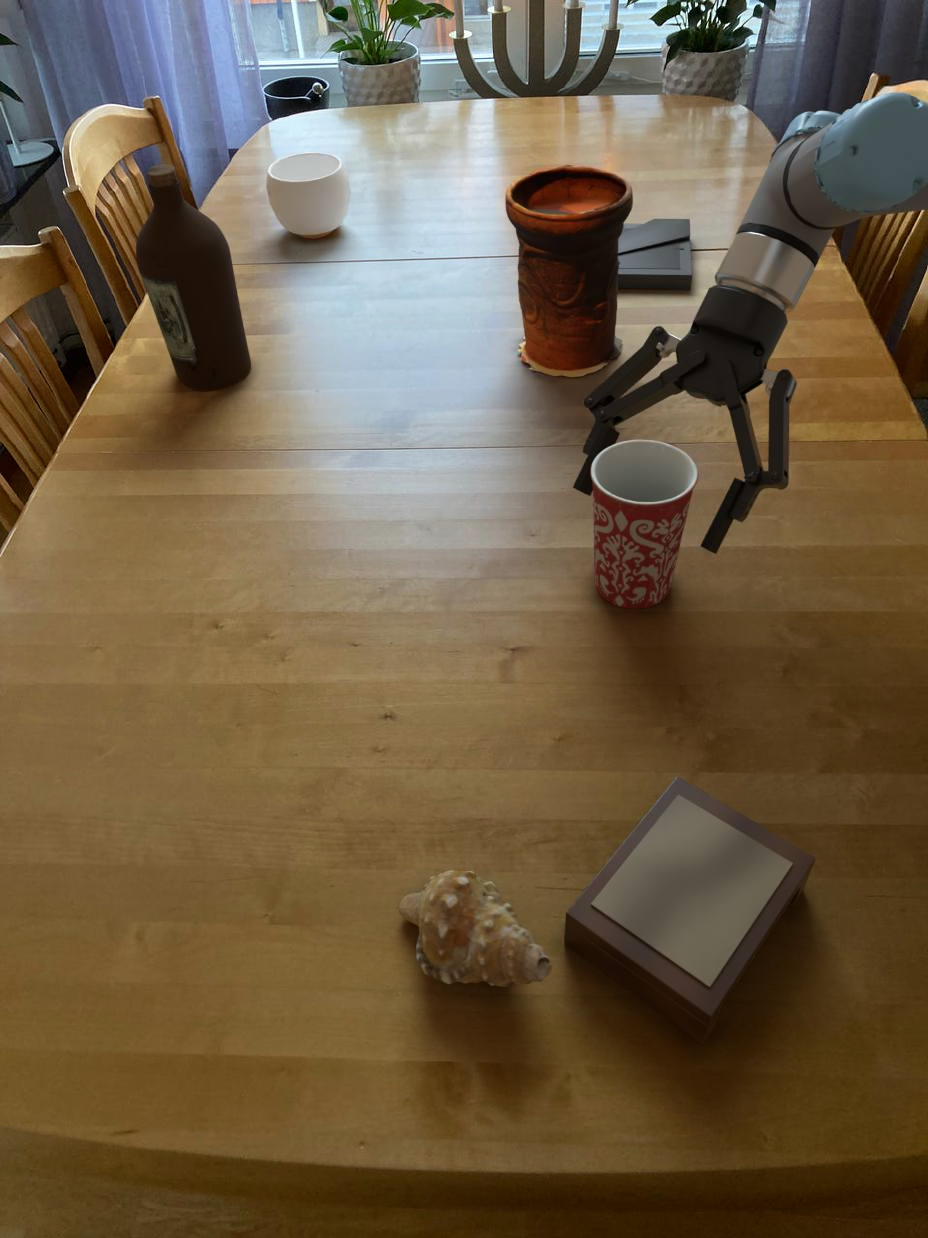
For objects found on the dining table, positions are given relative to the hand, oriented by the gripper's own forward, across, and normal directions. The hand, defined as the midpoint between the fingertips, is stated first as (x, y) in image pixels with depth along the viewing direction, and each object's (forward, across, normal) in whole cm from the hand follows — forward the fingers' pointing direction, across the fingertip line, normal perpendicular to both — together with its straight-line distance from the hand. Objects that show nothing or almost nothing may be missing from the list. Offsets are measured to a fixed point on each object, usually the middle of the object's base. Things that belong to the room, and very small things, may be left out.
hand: (642, 520), depth 88 cm
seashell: (+32, -12, +22) cm, 41 cm away
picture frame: (-32, +38, -42) cm, 65 cm away
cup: (-20, +82, -30) cm, 90 cm away
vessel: (-16, +30, -26) cm, 43 cm away
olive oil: (+6, +63, -4) cm, 63 cm away
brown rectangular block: (+24, -22, +15) cm, 36 cm away
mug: (+5, 0, -5) cm, 7 cm away
